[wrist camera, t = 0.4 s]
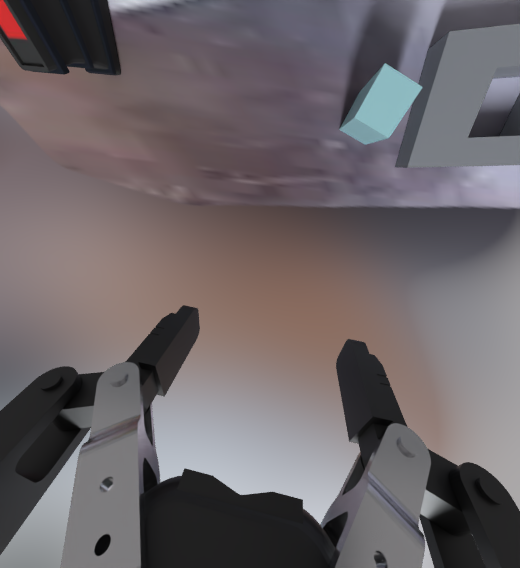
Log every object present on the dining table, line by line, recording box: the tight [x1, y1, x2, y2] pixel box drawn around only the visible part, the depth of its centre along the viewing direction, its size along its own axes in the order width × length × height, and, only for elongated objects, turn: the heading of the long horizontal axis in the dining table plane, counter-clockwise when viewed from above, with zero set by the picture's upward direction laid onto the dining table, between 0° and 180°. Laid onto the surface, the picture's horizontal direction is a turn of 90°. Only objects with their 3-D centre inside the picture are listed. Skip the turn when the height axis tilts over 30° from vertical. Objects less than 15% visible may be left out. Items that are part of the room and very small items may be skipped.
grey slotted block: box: [395, 24, 520, 168], centre depth 22 cm, size 16×11×4 cm
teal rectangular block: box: [339, 63, 423, 145], centre depth 22 cm, size 4×4×8 cm
